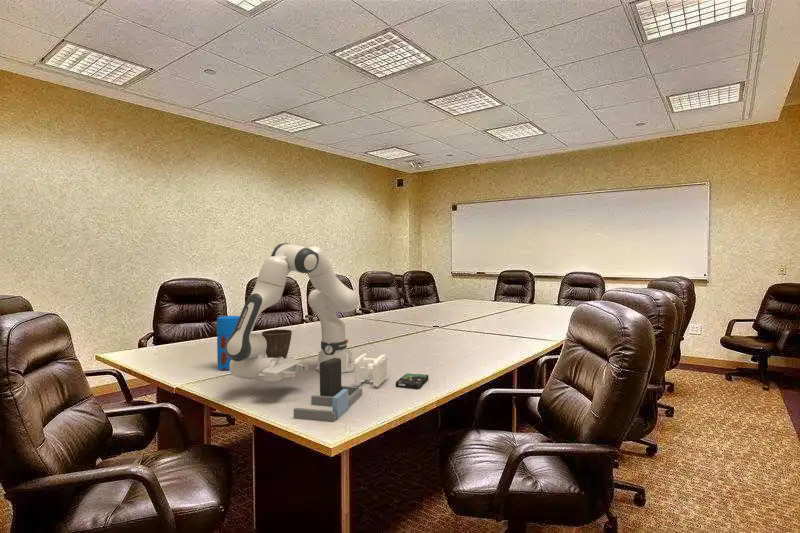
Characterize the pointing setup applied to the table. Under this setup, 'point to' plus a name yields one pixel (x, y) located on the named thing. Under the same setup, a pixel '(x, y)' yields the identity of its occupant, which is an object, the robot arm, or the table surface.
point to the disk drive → (412, 381)
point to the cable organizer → (370, 369)
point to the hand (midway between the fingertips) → (301, 371)
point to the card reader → (330, 377)
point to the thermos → (224, 339)
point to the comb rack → (338, 402)
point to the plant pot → (277, 343)
